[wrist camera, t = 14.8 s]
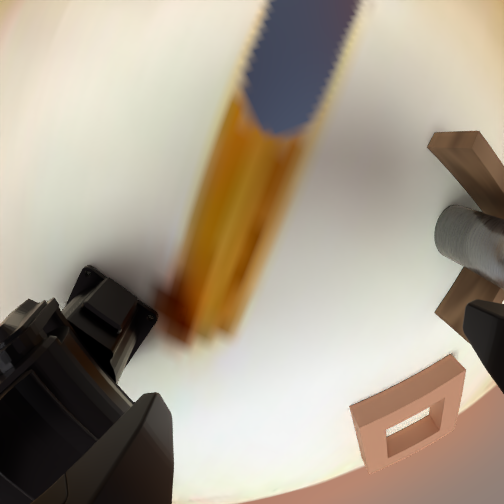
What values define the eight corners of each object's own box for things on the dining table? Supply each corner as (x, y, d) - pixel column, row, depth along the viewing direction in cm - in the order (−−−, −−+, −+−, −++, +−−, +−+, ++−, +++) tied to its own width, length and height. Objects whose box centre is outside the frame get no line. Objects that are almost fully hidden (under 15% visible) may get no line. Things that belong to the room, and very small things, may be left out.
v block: (433, 322, 23) (464, 351, 18) (424, 133, 18) (469, 131, 13) (500, 289, 23) (531, 308, 18) (499, 129, 18) (538, 130, 13)
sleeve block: (361, 457, 28) (369, 474, 26) (349, 406, 25) (359, 427, 22) (443, 415, 28) (453, 430, 25) (450, 353, 24) (465, 369, 21)
